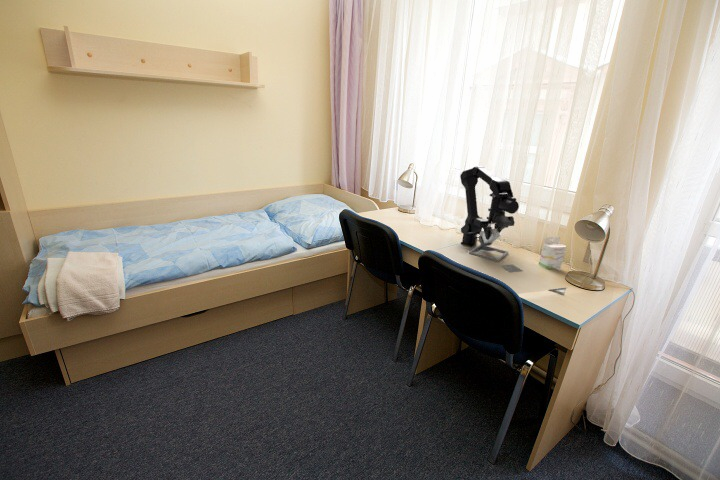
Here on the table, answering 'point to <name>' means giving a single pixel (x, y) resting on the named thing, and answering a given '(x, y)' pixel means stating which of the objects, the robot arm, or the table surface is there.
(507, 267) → the stud plate
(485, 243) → the strut
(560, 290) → the external hard drive
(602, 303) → the table surface
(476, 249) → the tray
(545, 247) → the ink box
